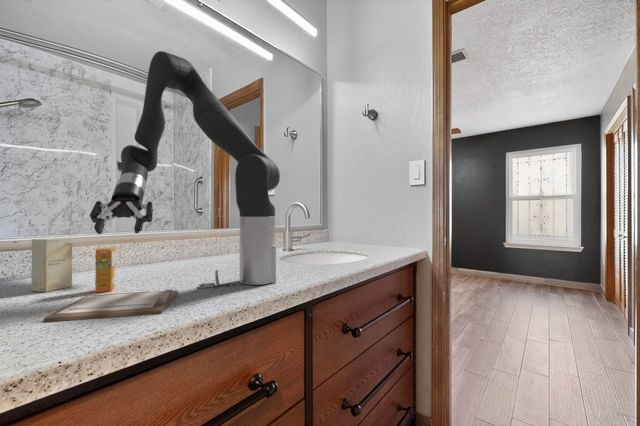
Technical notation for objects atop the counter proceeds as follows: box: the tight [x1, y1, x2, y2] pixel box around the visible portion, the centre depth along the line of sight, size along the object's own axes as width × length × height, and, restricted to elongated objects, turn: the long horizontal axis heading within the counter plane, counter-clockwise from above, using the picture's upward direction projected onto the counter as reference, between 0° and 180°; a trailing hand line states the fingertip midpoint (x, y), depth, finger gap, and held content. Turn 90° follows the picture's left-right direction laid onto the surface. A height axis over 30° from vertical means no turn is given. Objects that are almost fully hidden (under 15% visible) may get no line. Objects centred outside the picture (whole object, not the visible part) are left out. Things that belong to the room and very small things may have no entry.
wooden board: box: [43, 289, 179, 323], centre depth 59 cm, size 18×14×2 cm
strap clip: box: [197, 269, 235, 290], centre depth 74 cm, size 8×3×4 cm, turn 107°
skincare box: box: [31, 237, 73, 293], centre depth 71 cm, size 6×4×12 cm
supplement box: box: [94, 246, 116, 294], centre depth 70 cm, size 3×3×10 cm
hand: (117, 231), depth 78 cm, fingers open, 8 cm apart
